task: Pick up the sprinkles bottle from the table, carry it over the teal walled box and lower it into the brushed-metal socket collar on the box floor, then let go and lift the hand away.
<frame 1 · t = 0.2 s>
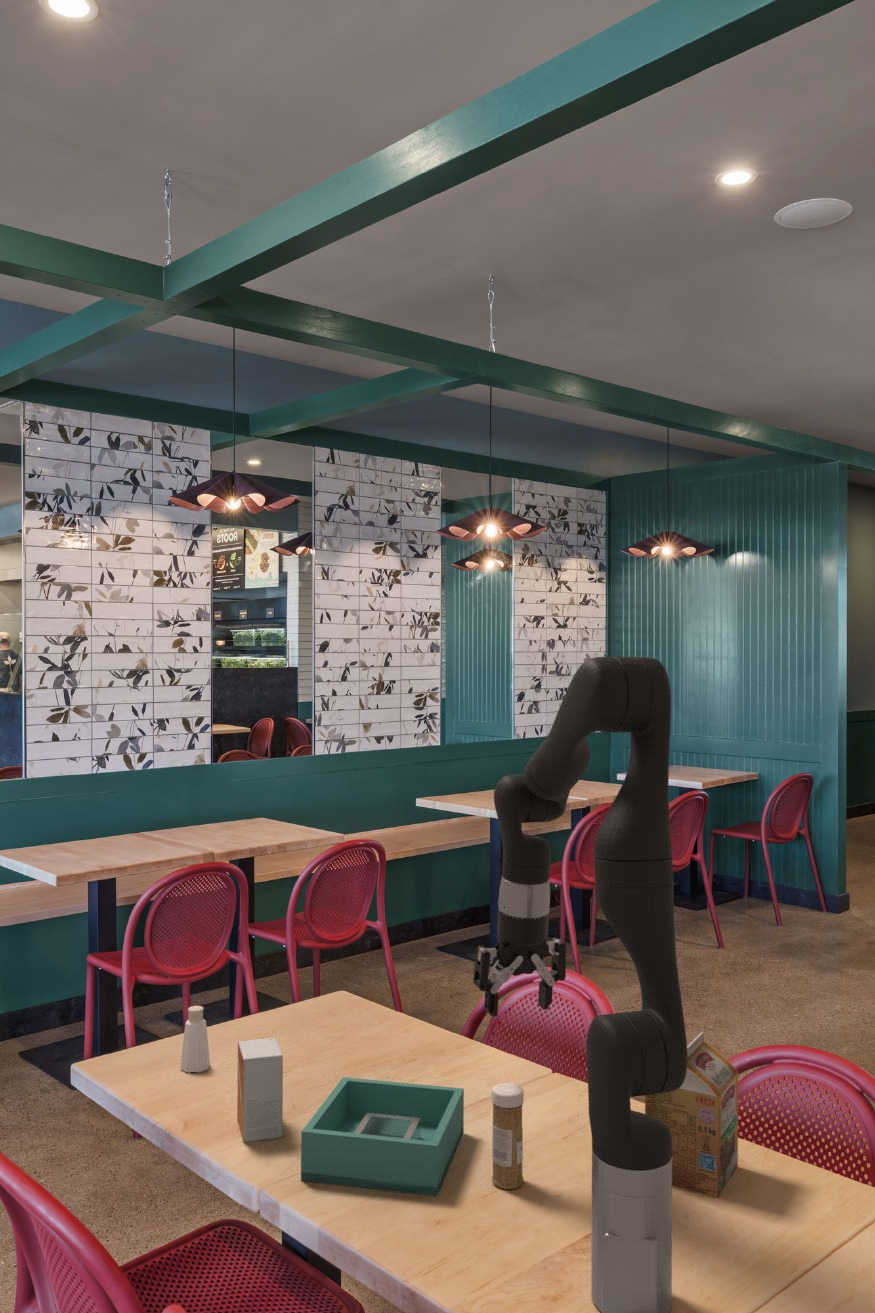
hand: (518, 1011, 153), 22 cm above the table, tool pointing down, fingers open, 8 cm apart
milk carton: (691, 1174, 149), on the table
small box: (259, 1130, 162), on the table
salt shaker: (195, 1068, 187), on the table
sprinkles bottle: (507, 1184, 146), on the table
socket collar: (386, 1137, 154), in the walled box, point 3 cm above the table
walled box: (386, 1155, 154), on the table
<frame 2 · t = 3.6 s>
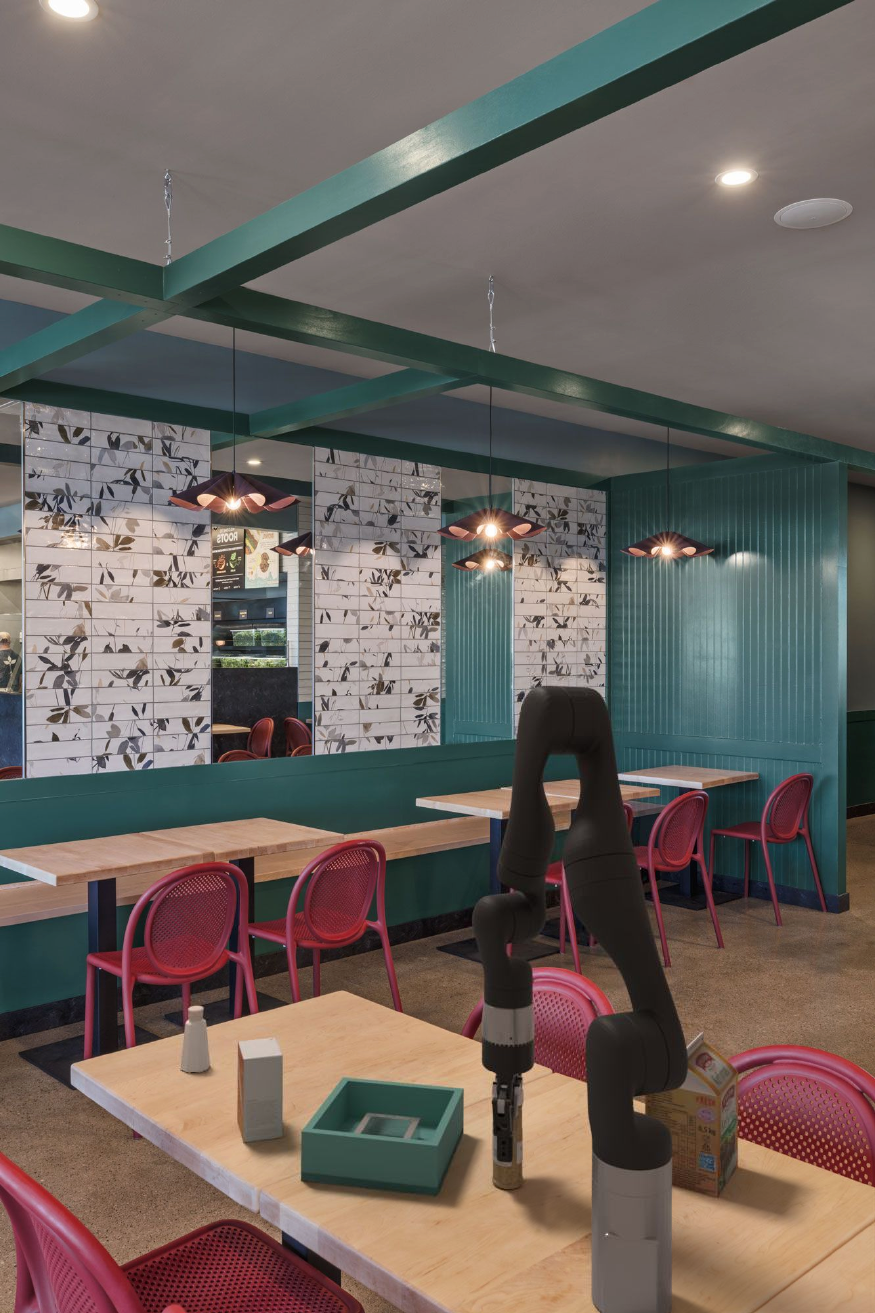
hand: (507, 1152, 146), 4 cm above the table, tool pointing down, fingers closed on sprinkles bottle, 4 cm apart
sprinkles bottle: (507, 1184, 146), on the table, touching gripper
everything else where it was.
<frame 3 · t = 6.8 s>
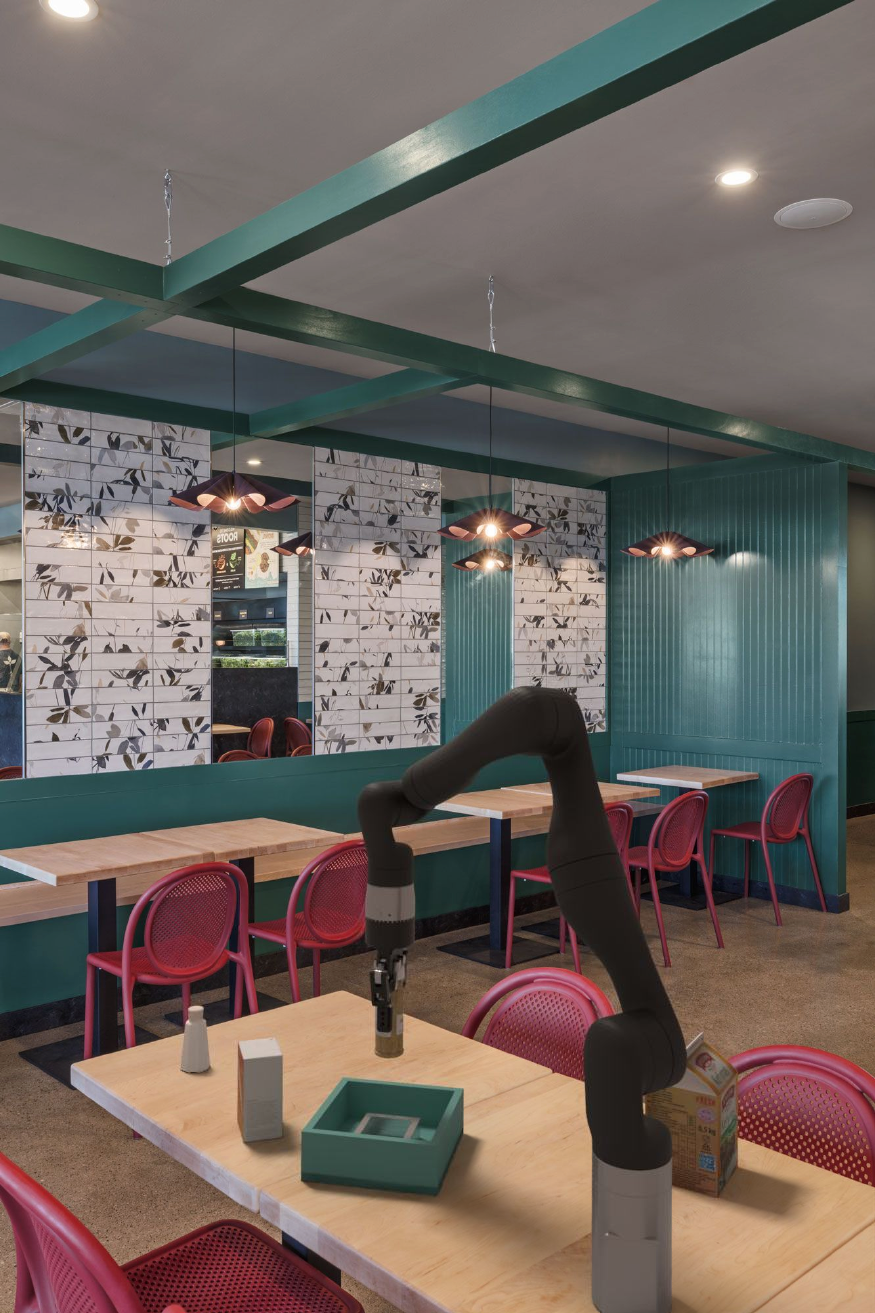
hand: (389, 1025, 154), 20 cm above the table, tool pointing down, fingers closed on sprinkles bottle, 4 cm apart
sprinkles bottle: (388, 1055, 154), point 15 cm above the table, touching gripper
everything else where it was.
when the fingers open (6 cm above the table, at t = 9.9 s): sprinkles bottle stays where it is, resting on walled box.
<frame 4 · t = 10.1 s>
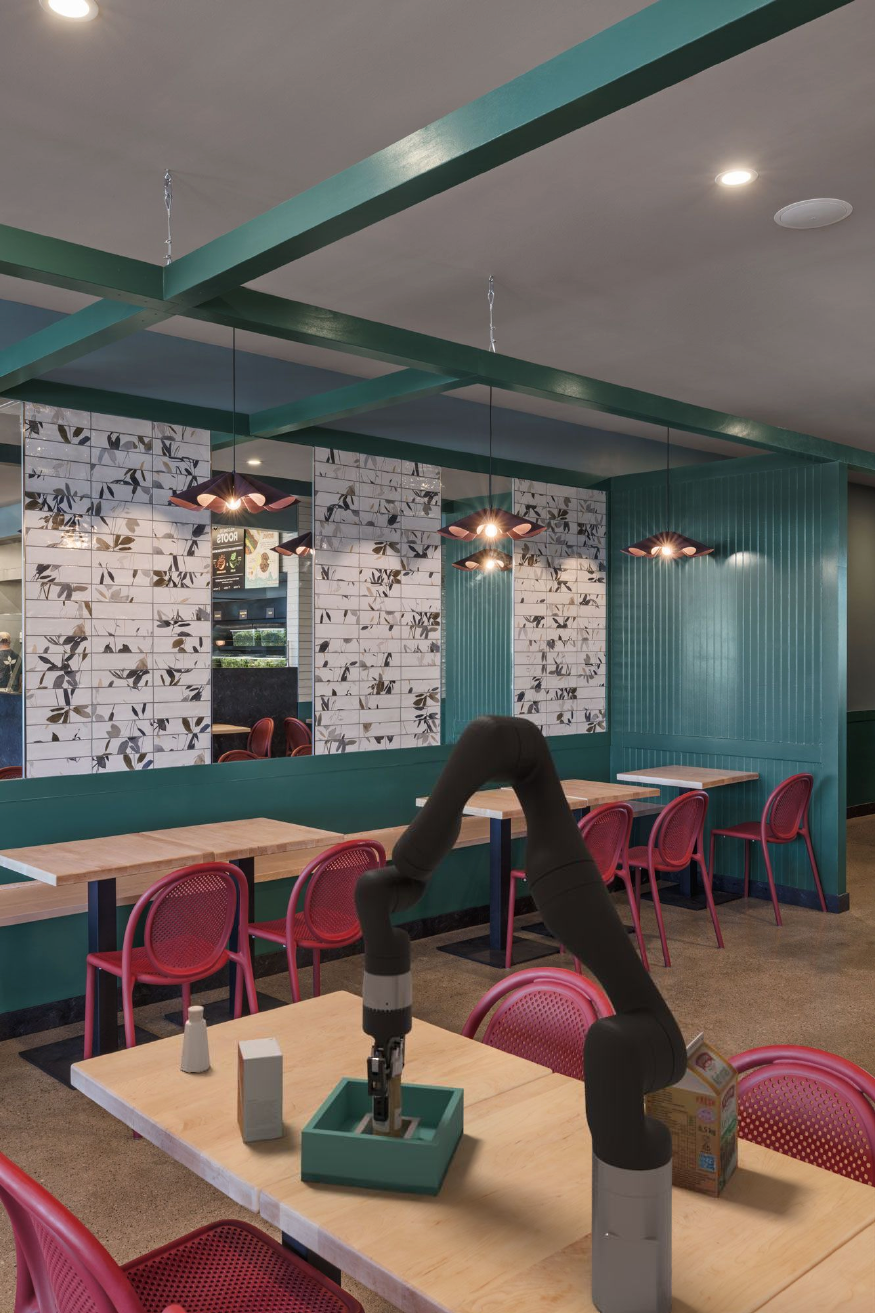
hand: (386, 1110, 154), 7 cm above the table, tool pointing down, fingers open, 6 cm apart
sprinkles bottle: (386, 1149, 154), point 1 cm above the table, touching walled box
everything else where it was.
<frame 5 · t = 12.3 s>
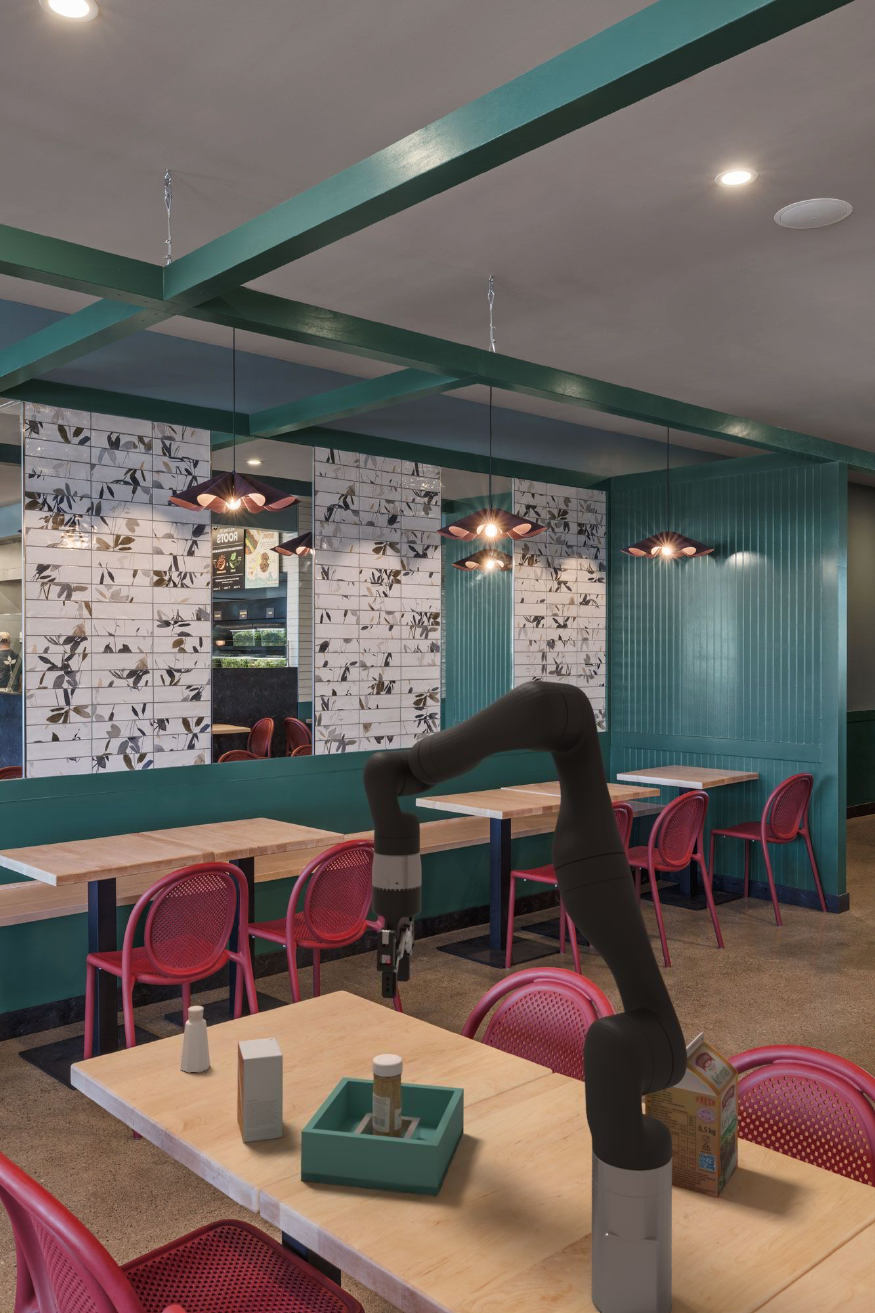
hand: (396, 988, 155), 25 cm above the table, tool pointing down, fingers open, 8 cm apart
nothing on the table moved.
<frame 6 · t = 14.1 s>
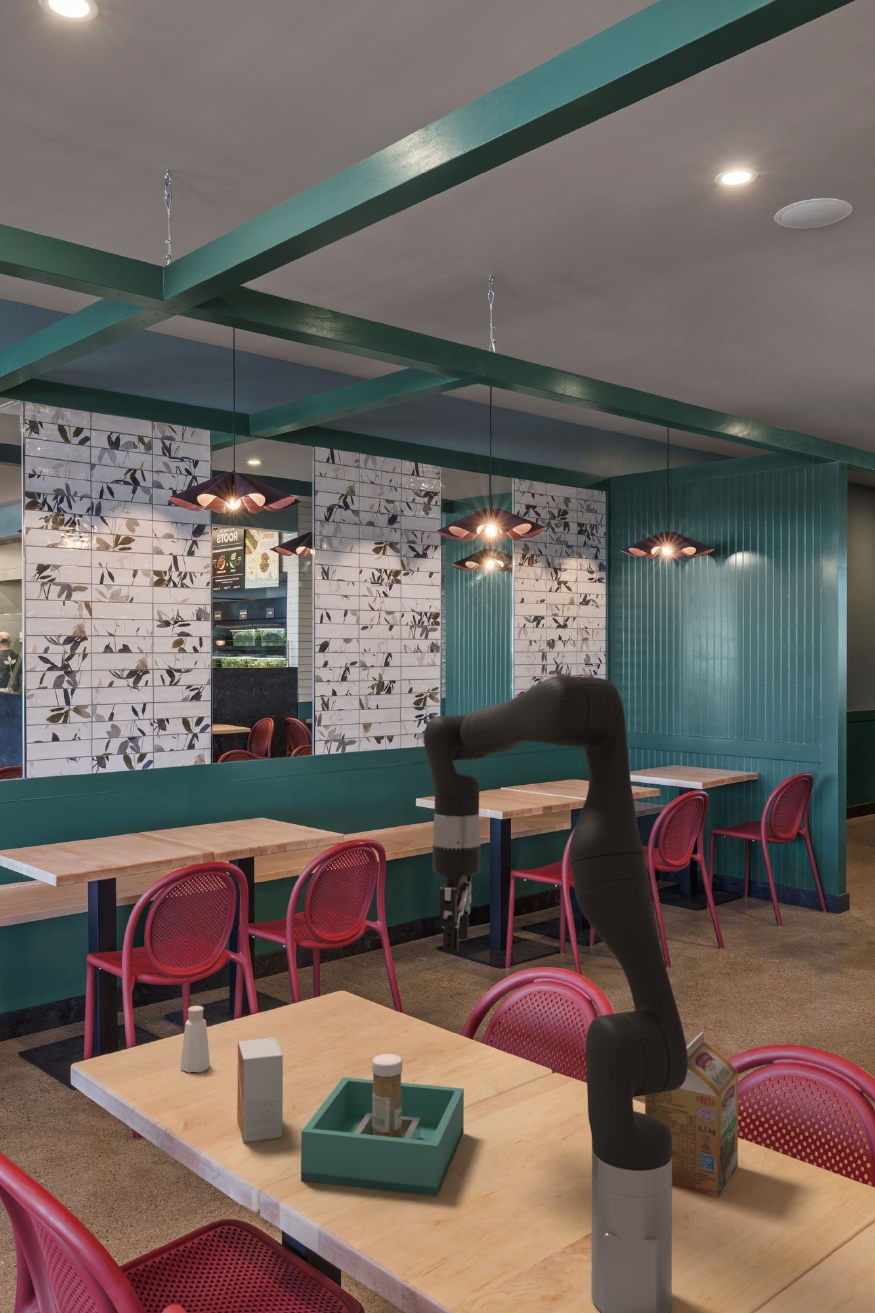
hand: (456, 945, 160), 30 cm above the table, tool pointing down, fingers open, 8 cm apart
nothing on the table moved.
at the end: sprinkles bottle 0.1 cm off-centre on the socket collar, point 1.0 cm above the socket collar's base; sprinkles bottle tilted 0°; the gripper is holding nothing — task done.
